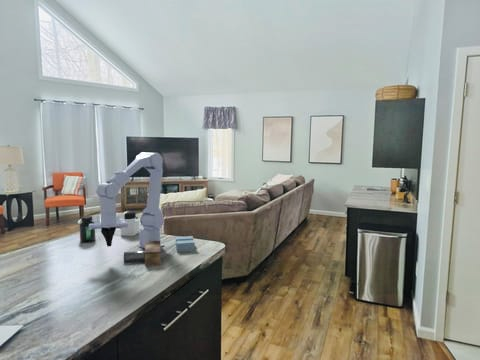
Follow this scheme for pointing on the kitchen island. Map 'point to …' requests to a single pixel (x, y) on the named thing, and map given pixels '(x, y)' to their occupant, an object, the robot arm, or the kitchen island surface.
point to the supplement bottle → (86, 230)
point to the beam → (152, 253)
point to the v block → (185, 244)
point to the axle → (134, 256)
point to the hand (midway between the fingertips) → (109, 245)
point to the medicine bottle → (130, 224)
